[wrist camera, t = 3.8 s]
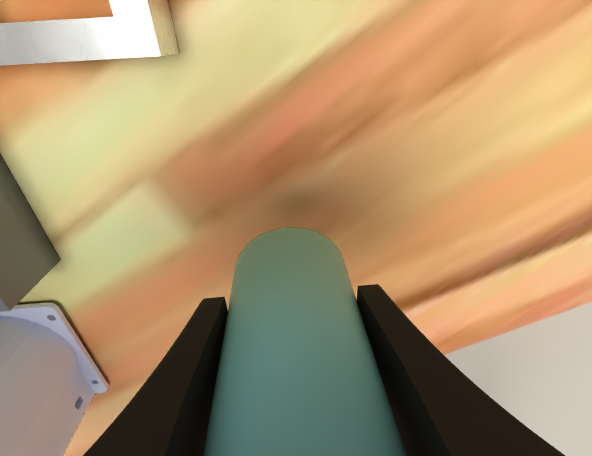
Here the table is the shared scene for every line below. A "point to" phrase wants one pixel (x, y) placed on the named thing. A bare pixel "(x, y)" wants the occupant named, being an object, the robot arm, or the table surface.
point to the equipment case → (20, 244)
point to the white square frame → (92, 36)
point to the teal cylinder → (297, 358)
